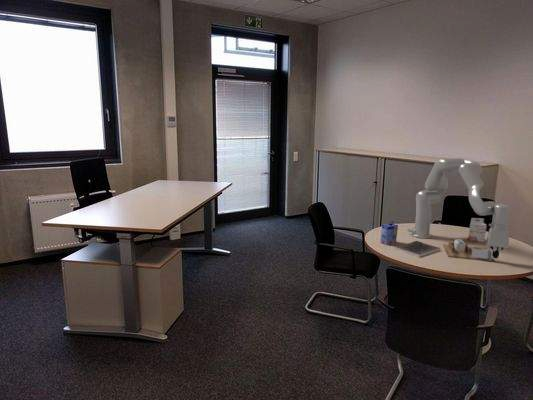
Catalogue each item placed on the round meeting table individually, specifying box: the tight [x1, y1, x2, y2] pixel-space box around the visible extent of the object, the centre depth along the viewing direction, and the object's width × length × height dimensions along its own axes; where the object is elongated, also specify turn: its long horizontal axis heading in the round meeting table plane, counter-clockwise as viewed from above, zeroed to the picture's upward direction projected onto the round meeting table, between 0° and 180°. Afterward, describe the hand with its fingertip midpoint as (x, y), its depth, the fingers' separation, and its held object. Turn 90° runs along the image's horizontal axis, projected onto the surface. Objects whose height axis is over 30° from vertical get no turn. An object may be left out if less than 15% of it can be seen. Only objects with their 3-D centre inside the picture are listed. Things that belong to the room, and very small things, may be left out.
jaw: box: [453, 238, 465, 252], centre depth 237 cm, size 4×7×6 cm, turn 165°
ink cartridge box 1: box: [380, 221, 399, 246], centre depth 251 cm, size 10×6×14 cm, turn 123°
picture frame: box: [395, 240, 441, 258], centre depth 239 cm, size 16×2×22 cm
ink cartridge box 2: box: [467, 217, 487, 243], centre depth 258 cm, size 9×5×15 cm, turn 84°
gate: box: [471, 249, 493, 260], centre depth 223 cm, size 10×2×5 cm, turn 74°
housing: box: [442, 241, 495, 262], centre depth 234 cm, size 24×22×5 cm
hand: (495, 257), depth 222 cm, fingers closed
